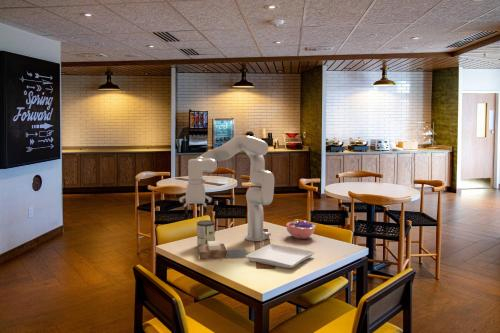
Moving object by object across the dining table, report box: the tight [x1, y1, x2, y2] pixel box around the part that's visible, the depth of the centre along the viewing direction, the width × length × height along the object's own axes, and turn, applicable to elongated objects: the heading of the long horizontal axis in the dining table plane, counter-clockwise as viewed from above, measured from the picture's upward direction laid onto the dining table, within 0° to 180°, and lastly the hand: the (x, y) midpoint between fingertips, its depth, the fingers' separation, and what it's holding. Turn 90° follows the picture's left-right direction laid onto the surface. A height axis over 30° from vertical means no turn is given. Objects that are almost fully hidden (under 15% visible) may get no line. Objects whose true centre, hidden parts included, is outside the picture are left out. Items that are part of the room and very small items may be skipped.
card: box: [208, 240, 221, 250], centre depth 229 cm, size 6×9×2 cm, turn 10°
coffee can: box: [196, 219, 216, 248], centre depth 245 cm, size 10×10×14 cm
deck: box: [197, 243, 228, 261], centre depth 229 cm, size 14×14×4 cm
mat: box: [226, 248, 249, 259], centre depth 232 cm, size 11×15×1 cm
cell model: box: [285, 219, 317, 240], centre depth 264 cm, size 17×20×11 cm
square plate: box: [245, 243, 316, 269], centre depth 222 cm, size 27×27×4 cm
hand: (195, 213), depth 229 cm, fingers open, 9 cm apart
